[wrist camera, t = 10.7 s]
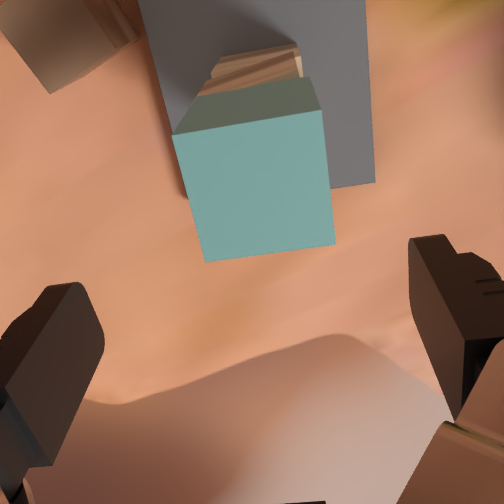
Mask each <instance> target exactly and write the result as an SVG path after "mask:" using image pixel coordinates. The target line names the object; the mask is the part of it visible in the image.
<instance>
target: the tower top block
mask: <svg viewBox="0 0 504 504" xmlns="http://www.w3.org/2000/svg"><path fill="white" fill-rule="evenodd" d="M296 78H300V75H299V71H298V67H297V64H296V60H295V56H294V52H293V51H292V52H289V53H286V54H283V55H280V56H277V57H274V58H271V59H268V60H265V61H263V62H260V63H257V64H254V65H251V66H248V67H245V68H242V69H239V70H236V71H234V72H231V73H228V74H225V75H222V76H219V77H216V78H213V79H210V80H207V81H206V82H205V84H204V85H203V87H202V88H201V90H200V91H199V93H198V94H197V96H203V95H208V94H214V93H219V92H225V91H230V90H236V89H241V88H247V87H252V86H258V85H263V84H269V83H274V82H280V81H285V80H291V79H296ZM197 96H196V97H197ZM196 97H195V98H196ZM194 100H195V99H194ZM192 103H193V102H192ZM191 105H192V104H191ZM191 105H190V106H191Z"/></svg>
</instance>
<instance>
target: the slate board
mask: <svg viewBox="0 0 504 504" xmlns="http://www.w3.org/2000/svg"><path fill="white" fill-rule="evenodd" d="M137 1H138V5H139V8H140V12H141V16H142V20H143V23H144V27H145V31H146V35H147V39H148V42H149V46H150V50H151V54H152V57H153V61H154V65H155V69H156V72H157V76H158V80H159V84H160V87H161V91H162V95H163V99H164V103H165V106H166V110H167V114H168V118H169V121H170V125H171V129H172V133H173V132H174V131H175V129H176V128H177V126H178V125H179V123H180V122H181V120H182V118H183V117H184V115H185V114H186V112H187V111H188V109H189V108H190V105H191V104H192V102H193V101H194V99H195V97H196V96H197V94H198V93H199V91H200V90H201V88H202V87H203V85H204V84H205V82H206V81H207V80H210V79H212V78H211V71H212V70H213V68H214V67H215V65H216V64H217V62H218V61H219V59H220V58H221V57H224V56H229V55H234V54H240V53H245V52H250V51H255V50H261V49H266V48H271V47H277V46H282V45H287V44H292V43H297V46H298V49H299V52H300V55H301V62H302V70H303V77H307V76H310V79H311V82H312V84H313V87H314V90H315V93H316V96H317V99H318V101H319V104H320V107H321V110H322V119H323V128H324V137H325V147H326V156H327V165H328V174H329V184H330V189H335V188H342V187H348V186H355V185H362V184H368V183H375V165H374V148H373V130H372V113H371V95H370V77H369V60H368V42H367V25H366V7H365V0H137Z"/></svg>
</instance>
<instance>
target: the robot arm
mask: <svg viewBox="0 0 504 504" xmlns="http://www.w3.org/2000/svg"><path fill="white" fill-rule="evenodd" d="M408 264H409V299H410V306H411V311H412V315H413V319H414V321H415V324H416V326H417V329H418V331H419V334H420V336H421V339H422V341H423V344H424V346H425V349H426V351H427V354H428V356H429V359H430V361H431V364H432V366H433V369H434V371H435V374H436V376H437V379H438V381H439V384H440V386H441V389H442V391H443V394H444V396H445V399H446V401H447V404H448V406H449V409H450V411H451V414H452V416H453V419H454V421H455V422H454V423H451V422H449V421H444V422H443V423H442V424H441V425H440V426H439V428H438V429H437V431H436V433H435V434H434V436H433V438H432V440H431V442H430V444H429V445H428V447H427V449H426V451H425V452H424V454H423V456H422V458H421V460H420V462H419V464H418V465H417V467H416V469H415V471H414V473H413V474H412V476H411V478H410V480H409V481H408V483H407V485H406V487H405V489H404V490H403V493H402V494H401V496H400V498H399V500H398V502H397V503H396V504H504V281H502V280H501V277H500V275H499V274H498V273H497V271H496V270H495V269H494V267H493V266H492V265H491V263H489V262H488V261H486V260H484V259H482V258H481V257H479V256H477V255H476V254H474V253H472V252H469V253H461V254H457V253H456V251H455V249H454V248H453V246H452V245H451V243H450V242H449V240H448V239H447V237H446V236H445V235H444V234H439V235H431V236H424V237H416V238H410V239H409V243H408ZM104 345H105V339H104V333H103V329H102V327H101V325H100V322H99V320H98V318H97V315H96V313H95V311H94V308H93V306H92V304H91V301H90V299H89V297H88V294H87V292H86V290H85V288H84V286H83V285H82V284H81V283H79V282H72V283H65V284H57V285H50V286H47V287H46V288H45V289H44V290H43V292H42V293H41V295H40V296H39V297H38V299H37V300H36V301H35V303H34V304H33V305H32V307H31V308H29V309H28V310H26V311H25V312H24V313H23V314H21V315H20V316H19V317H18V318H16V319H15V320H14V321H13V322H12V323H11V324H10V326H9V327H8V328H7V330H6V331H5V332H4V333H3V335H2V336H1V339H0V504H35V503H34V500H33V496H32V493H31V490H30V487H29V484H28V483H27V481H26V480H25V478H24V477H25V475H26V473H27V471H28V469H29V468H32V467H44V466H52V465H53V463H54V461H55V459H56V457H57V454H58V452H59V450H60V448H61V445H62V443H63V441H64V439H65V437H66V434H67V432H68V430H69V428H70V425H71V423H72V421H73V419H74V416H75V414H76V412H77V410H78V408H79V405H80V403H81V401H82V399H83V397H84V395H85V392H86V390H87V388H88V386H89V384H90V381H91V379H92V377H93V375H94V372H95V370H96V368H97V366H98V364H99V361H100V359H101V357H102V355H103V352H104ZM286 504H326V502H325V501H316V502H301V503H286Z"/></svg>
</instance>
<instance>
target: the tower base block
mask: <svg viewBox="0 0 504 504" xmlns="http://www.w3.org/2000/svg"><path fill="white" fill-rule="evenodd" d="M292 51H293V52H294V56H295V60H296V64H297V67H298V71H299V75H300V78H302V77H303V70H302V62H301V55H300V52H299V49H298V46H297V43H292V44H287V45H282V46H277V47H271V48H266V49H261V50H255V51H250V52H245V53H240V54H234V55H229V56H224V57H221V58H220V59H219V61H218V62H217V64H216V65H215V67H214V68H213V70H212V71H211V78H212V79H213V78H216V77H219V76H222V75H225V74H228V73H231V72H234V71H236V70H239V69H242V68H245V67H248V66H251V65H254V64H257V63H260V62H263V61H265V60H268V59H271V58H274V57H277V56H280V55H283V54H286V53H289V52H292Z"/></svg>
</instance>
